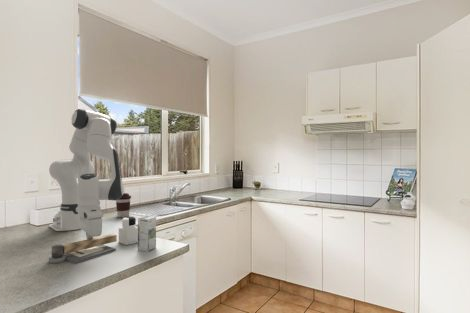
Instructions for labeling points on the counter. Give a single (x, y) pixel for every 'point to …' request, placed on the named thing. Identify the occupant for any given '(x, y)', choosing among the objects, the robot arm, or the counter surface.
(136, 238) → the medicine bottle
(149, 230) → the syrup box
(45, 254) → the counter surface
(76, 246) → the swing arm
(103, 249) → the label board
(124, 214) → the coffee cup
